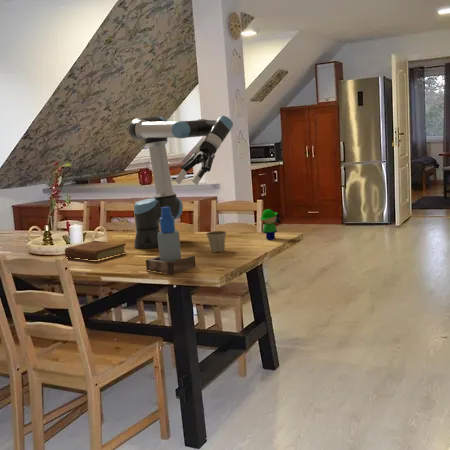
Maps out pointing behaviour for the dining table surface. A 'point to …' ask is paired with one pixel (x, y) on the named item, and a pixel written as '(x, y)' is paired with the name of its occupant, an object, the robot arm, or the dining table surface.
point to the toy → (270, 223)
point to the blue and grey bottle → (168, 237)
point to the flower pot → (216, 240)
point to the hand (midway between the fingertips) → (185, 182)
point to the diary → (95, 250)
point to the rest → (170, 265)
